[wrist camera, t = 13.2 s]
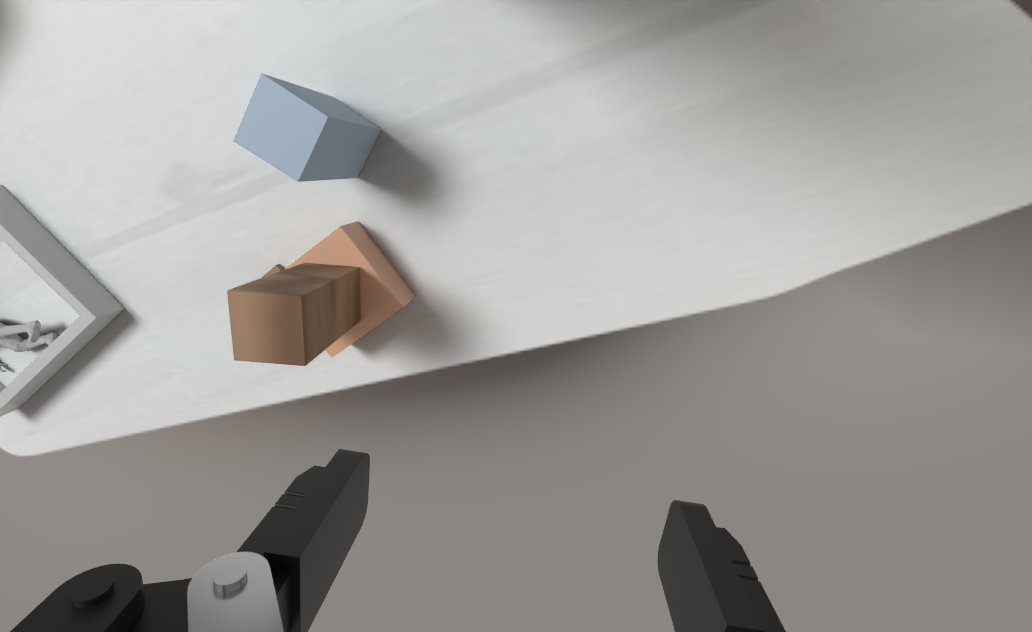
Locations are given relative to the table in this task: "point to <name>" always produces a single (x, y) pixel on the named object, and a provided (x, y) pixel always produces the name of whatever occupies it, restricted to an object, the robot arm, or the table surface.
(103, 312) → the grey display tray
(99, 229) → the table surface
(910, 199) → the table surface
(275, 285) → the walnut pillar
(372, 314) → the terracotta block
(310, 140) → the slate pillar
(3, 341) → the soldier figure
